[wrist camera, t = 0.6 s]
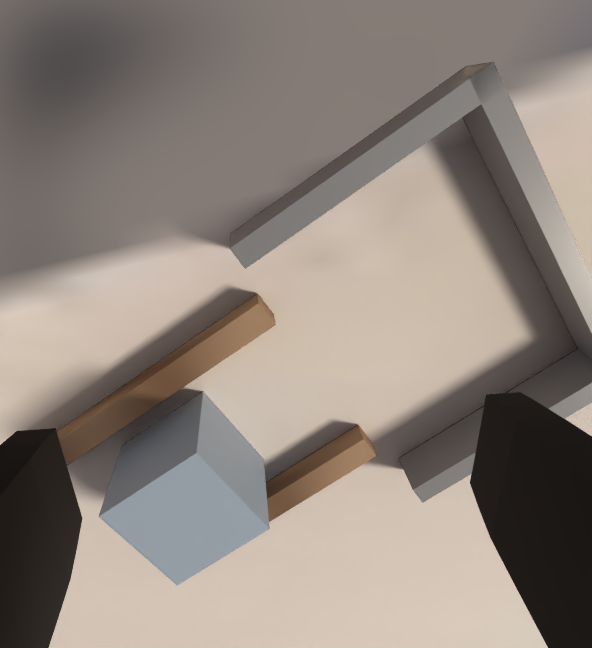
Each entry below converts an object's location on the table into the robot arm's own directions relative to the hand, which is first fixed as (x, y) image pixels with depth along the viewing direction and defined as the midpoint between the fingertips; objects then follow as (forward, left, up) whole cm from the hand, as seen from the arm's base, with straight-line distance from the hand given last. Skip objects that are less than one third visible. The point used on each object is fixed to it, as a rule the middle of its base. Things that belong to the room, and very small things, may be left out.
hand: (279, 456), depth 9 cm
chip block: (-6, -5, -11) cm, 13 cm away
